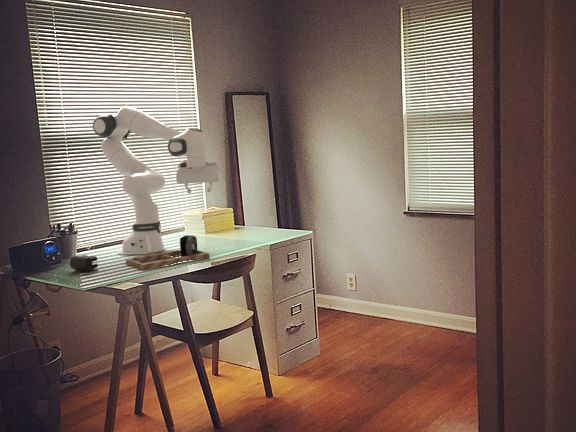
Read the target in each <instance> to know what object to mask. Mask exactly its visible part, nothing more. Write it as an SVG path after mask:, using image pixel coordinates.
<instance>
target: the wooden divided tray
mask: <svg viewBox="0 0 576 432" xmlns="http://www.w3.org/2000/svg"><path fill="white" fill-rule="evenodd" d="M180 251H181V250H180V249H174V250H170V251H162V252H158V253H157V252H155V253H149V254H143V255H140V256H139V255H138V256H133V257H128V258H125V264H126V265H127V266H131V267H133V268H136V269H138V270H141V271H148V270H153V269H159V268H158V267H160V268H163V267H162V266H165V265H170V266H172V265H171V264H174V263H178V262H183V261H189V260H197V259H203V260H207V259H210V257H211V256H210V253H209V252H207V251H204V250H199V249H197V254H195V255H189V256H184V257H178V258H175V257H176V256H175V255H180V254H181V252H180ZM171 256H175V257H171ZM161 259H163V260H161ZM156 260H157V261H156ZM145 262H146V263H145ZM165 267H166V266H165Z"/></svg>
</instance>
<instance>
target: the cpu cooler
mask: <svg viewBox="0 0 576 432" xmlns="http://www.w3.org/2000/svg"><path fill="white" fill-rule="evenodd" d="M179 250H181V251H180V252H181V257H184V256H189V255H195V254H197V250H198V240H197V235H192V234H191V235H187V234H186V235H183V236H182V237H179Z"/></svg>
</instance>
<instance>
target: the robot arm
mask: <svg viewBox="0 0 576 432" xmlns="http://www.w3.org/2000/svg"><path fill="white" fill-rule="evenodd" d="M92 130H93V131H94V133H95V134H96V135H97V136H99V137H102V138H104V139H103V140H102V142H101V144H100V149H101V151H102V153H103V155H104V156H105V157H106V159H107V160H108V162H109V163H110V164H111V165H112V166H113V167H114V168H115V169H116V170H117V172H119V174H120V175H122V176H124V179H123V180H122V184H121V185H122V190H123V191H124V193H125V194H126V195H127V196H128V197H129V198H130V200H131V202H132V204H133V208H134V214H135V223H133V224H132V227H131V229H132V232H130V234H128V235H127V236H126V237H125V238H124V239H123V241H122V246H121V247H122V248H120V249H119V250H118V251H117V253H118V255H120V256H122V255H123V256H124V255H127V256H128V255H150V254H154V253H157V252H158V253H160V252H161V251H162V252H163V251H164V250H165V249H166V248H165V245H164V243H163V239H162V225H161V221H160V218H159V215H160V214H159V206H158V205H157V204H156V203H155V202H154V201H153V198H152V196H151V194H155V193H156V194H157V192H159V191H161V190H162V189H163V188H165V183H166V180H165V177H164V175H163V174H162V173H161V172H159V171H157V170H154V169H152V168H151V167H150V166H148V165H146V163H144V162H142V160H140V159H138V157H137V156H135V154H133V152H132V151H131V150H130V149H129V147H128V146H126V145H125V143H124V141H126V140H127V139H128V137H129V135H130V134H131V133H133V134H135V135H137V136H139V137H142V138H154V139H161V140H165V141H167V151H168V153H169V154H170V155H171V156H173V157H175V158H180V157H181V158H182V157H186V160H184V161H182V162H179V163H178V164H177V168H178V169H177V170H176V176H175V177H176V178H175V179H176V184H178V185H184V188H186V189H185V190H186V192H187V194H191V193H192V189H191V188H189V187H188V186H189V184H203V183H209V187H207V188H206V190H207V193H211V192H212V187H213V184H214V183H216V182H217V183H218V182H219V181H220V180H221V175H220V169H221V168H220V164H219V163H218V162H216V161H212V162H209V161H207V154H206V142H205V136H204V132H203V130H201V129H200V128H192V127H190V128H186V129H185V130H184V131H183V132H180V131H178V130H176V129H174V128H172V127H170V126H169V125H166V124H164V123H162V122H160V121H158V120H157V119H156V118H154V117H152V116H150V115H149V114H147V113H145V112H143V111H142V110H140V109H138V108H135V107H132V106H129V105H124V106H121V108H120V109H119V110H118V112H117V114H102V115H99V116H97V117H95V118H94V120H93V123H92Z"/></svg>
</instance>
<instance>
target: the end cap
mask: <svg viewBox="0 0 576 432" xmlns="http://www.w3.org/2000/svg"><path fill="white" fill-rule="evenodd" d="M97 261H98V257H97V256H96V255H90V256H88V255H86V254H83V255H73V256H71V258H70V261H69V266H70V268H71V269H72V270H74V271H76V272H84V273H93V272H97V271H99V270H98V267H99V264H98V263H93V262H97Z"/></svg>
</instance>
